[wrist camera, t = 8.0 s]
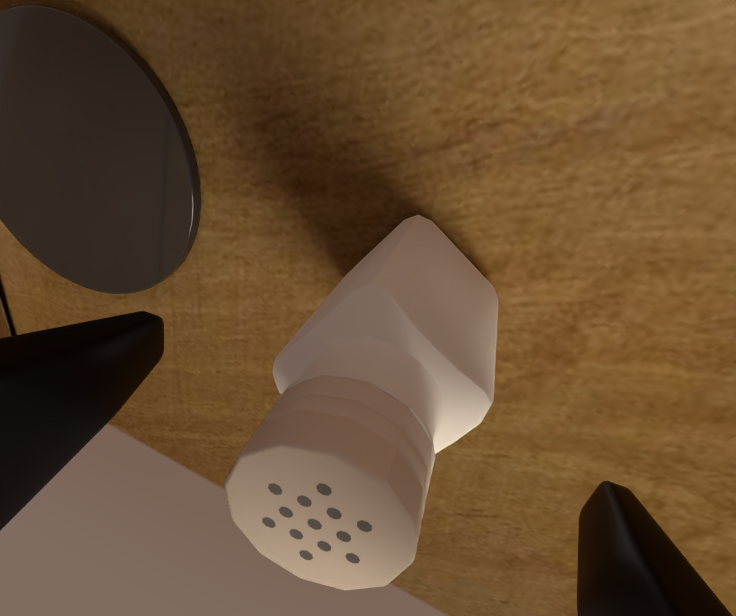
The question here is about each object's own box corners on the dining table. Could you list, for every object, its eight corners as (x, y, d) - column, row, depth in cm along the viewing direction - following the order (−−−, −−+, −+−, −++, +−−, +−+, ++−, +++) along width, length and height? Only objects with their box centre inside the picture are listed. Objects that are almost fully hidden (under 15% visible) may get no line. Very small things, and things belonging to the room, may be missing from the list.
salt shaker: (340, 278, 16) (160, 488, 8) (421, 201, 14) (296, 372, 6) (417, 356, 16) (326, 630, 8) (506, 292, 14) (504, 568, 6)
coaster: (214, 309, 18) (207, 314, 18) (16, 268, 20) (5, 272, 20) (182, 13, 13) (172, 11, 13) (-71, 0, 15) (-87, -2, 15)
